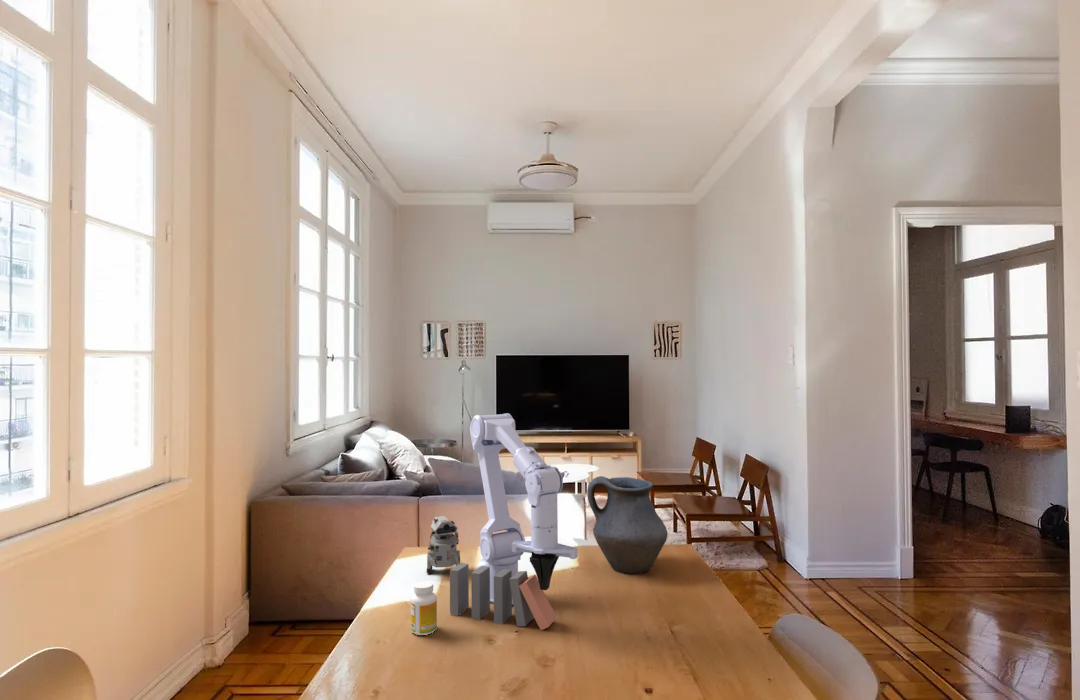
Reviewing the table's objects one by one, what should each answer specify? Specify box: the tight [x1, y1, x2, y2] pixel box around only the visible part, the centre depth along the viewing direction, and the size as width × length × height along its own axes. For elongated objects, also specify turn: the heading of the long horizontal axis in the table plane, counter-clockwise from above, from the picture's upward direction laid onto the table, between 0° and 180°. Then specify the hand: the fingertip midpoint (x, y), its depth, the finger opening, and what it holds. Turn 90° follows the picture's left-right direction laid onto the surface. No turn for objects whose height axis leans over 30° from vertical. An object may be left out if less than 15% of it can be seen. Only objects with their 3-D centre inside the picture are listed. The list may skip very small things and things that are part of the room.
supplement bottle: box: [410, 580, 438, 635], centre depth 125 cm, size 5×5×10 cm
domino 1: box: [449, 562, 470, 616], centre depth 135 cm, size 2×5×10 cm, turn 158°
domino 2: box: [470, 566, 491, 620], centre depth 133 cm, size 2×5×10 cm, turn 158°
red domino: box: [519, 574, 557, 631], centre depth 128 cm, size 2×5×10 cm, turn 158°
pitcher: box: [586, 475, 669, 574], centre depth 163 cm, size 21×22×25 cm
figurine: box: [426, 515, 461, 574], centre depth 159 cm, size 9×12×15 cm
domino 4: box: [509, 570, 535, 627], centre depth 129 cm, size 2×5×10 cm, turn 158°
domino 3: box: [493, 569, 513, 625], centre depth 131 cm, size 2×5×10 cm, turn 158°
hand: (544, 588), depth 127 cm, fingers closed
